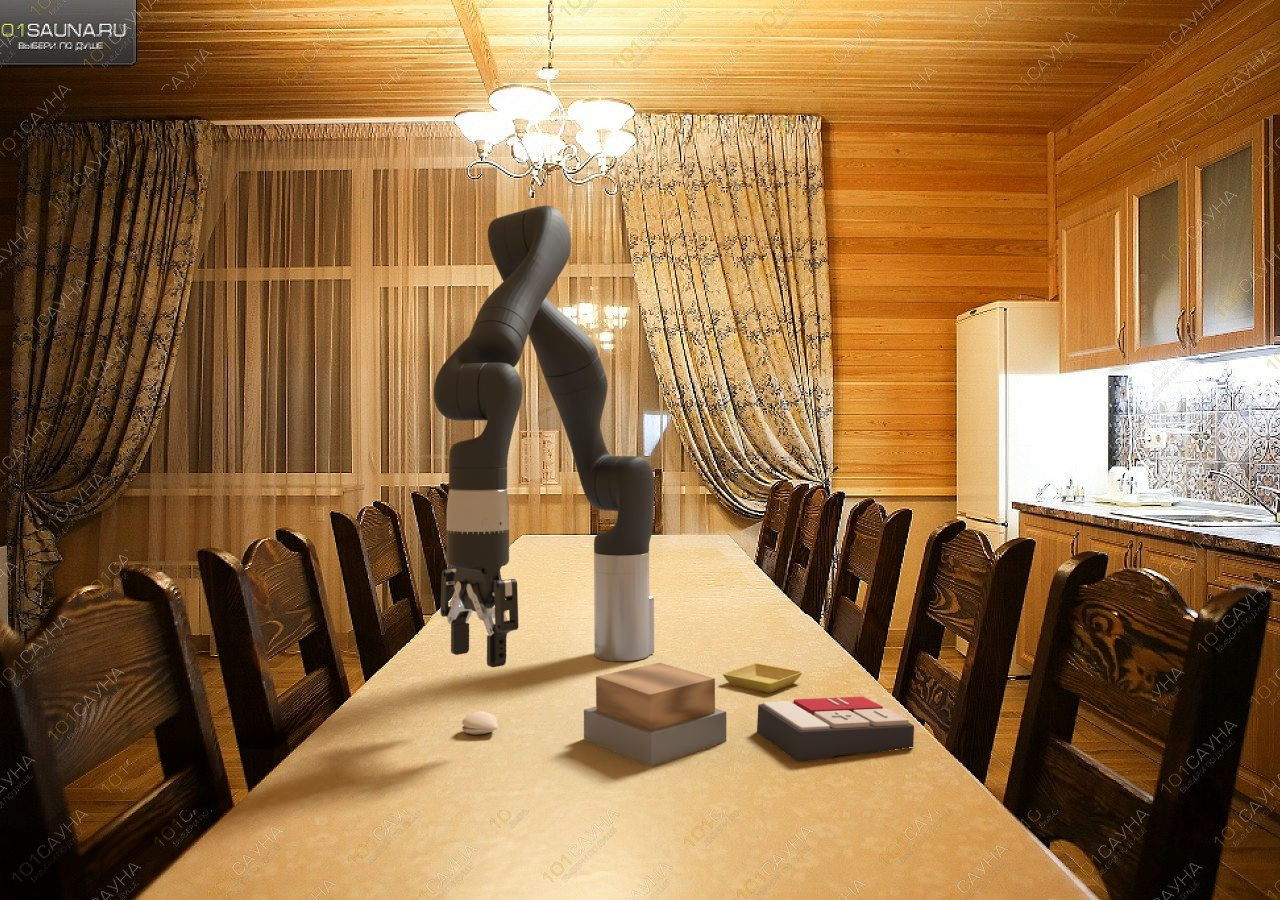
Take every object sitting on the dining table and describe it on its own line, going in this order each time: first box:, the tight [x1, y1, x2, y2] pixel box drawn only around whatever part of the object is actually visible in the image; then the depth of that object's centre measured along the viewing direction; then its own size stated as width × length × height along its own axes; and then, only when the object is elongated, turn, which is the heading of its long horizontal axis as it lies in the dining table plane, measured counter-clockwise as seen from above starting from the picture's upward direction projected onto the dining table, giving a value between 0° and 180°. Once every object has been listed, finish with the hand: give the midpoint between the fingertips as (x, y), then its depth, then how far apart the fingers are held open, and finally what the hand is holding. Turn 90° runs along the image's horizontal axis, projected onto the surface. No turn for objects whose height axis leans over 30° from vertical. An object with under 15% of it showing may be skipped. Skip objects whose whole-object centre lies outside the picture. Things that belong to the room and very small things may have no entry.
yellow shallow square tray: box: [722, 663, 803, 694], centre depth 126 cm, size 9×9×2 cm
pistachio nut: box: [461, 710, 499, 736], centre depth 105 cm, size 4×5×2 cm
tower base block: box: [583, 706, 727, 767], centre depth 103 cm, size 12×12×4 cm
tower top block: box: [595, 662, 716, 731], centre depth 102 cm, size 10×10×4 cm
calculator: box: [756, 696, 915, 763], centre depth 103 cm, size 11×4×15 cm
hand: (477, 659), depth 105 cm, fingers open, 8 cm apart
